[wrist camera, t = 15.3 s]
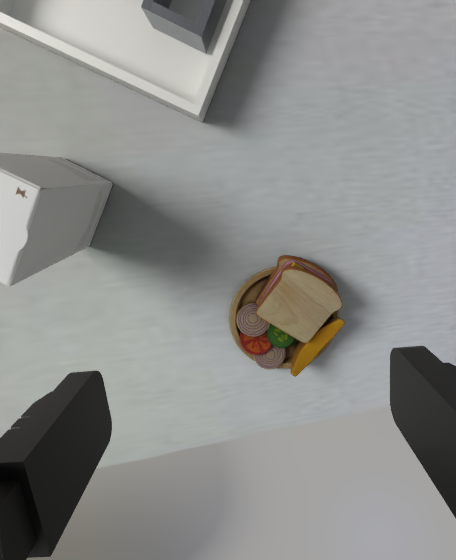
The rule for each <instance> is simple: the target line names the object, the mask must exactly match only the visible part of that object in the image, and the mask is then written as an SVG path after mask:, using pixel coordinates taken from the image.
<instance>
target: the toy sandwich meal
mask: <svg viewBox="0 0 456 560" xmlns="http://www.w3.org/2000/svg"><path fill="white" fill-rule="evenodd" d="M337 291H338V289H337V286H336V283H335V282H334V280H333V279H332V277H331V276H330V275H329V274H328V273H327V272H326V271H324V270H323V269H322V268H320V267H319V266H317V265H316V264H314V263H312V262H310V261H307V260H305V259H302V258H299V257H295V256H288V255H284V256H280V257H279V258H278V264H277V267H273V268H269V269H266V270H263V271H261V272H259V273H257V274H255V275H254V276H252V277H251V278H249V279H248V280H247V281H246V282H245V283H244V284H243V285H242V286H241V287H240V288H239V290H238V291H237V293H236V295H235V296H234V299H233V301H232V304H231V308H230V314H229V324H230V329H231V333H232V336H233V338H234V340H235V342H236V344H237V345H238V347H239V348H240V349H241V350H242V352H243V353H244V354H246V355H247V356H248V357H249V358H251V359H252V360H254V361H255V362H256V363H257V364H258V365H259V366H260V367H262V368H265V369H274V368H291V374H292V375H293V376H297V375H298V374H299V373H300V372H301V371H302V370H303V369H304V368H305V367H306V366H307V365H308V364H309V363H310V362H311V361H312V360H313V359H315V358H316V357H318V356H319V355H320V354H321V353H322V352H323V351H324V350H325V349H326V348H327V347H328V345H329V344H330V342H331V341H332V339H333V337H334V336H335V335H336V334H337V332H338V331H339V330H340V329H341V327H342V326H343V325H344V323H345V322H344V321H343V320H342V319H338V310H339V309H340V308H341V307H342V301H341V299H340V297H339V295H338V293H337Z"/></svg>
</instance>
